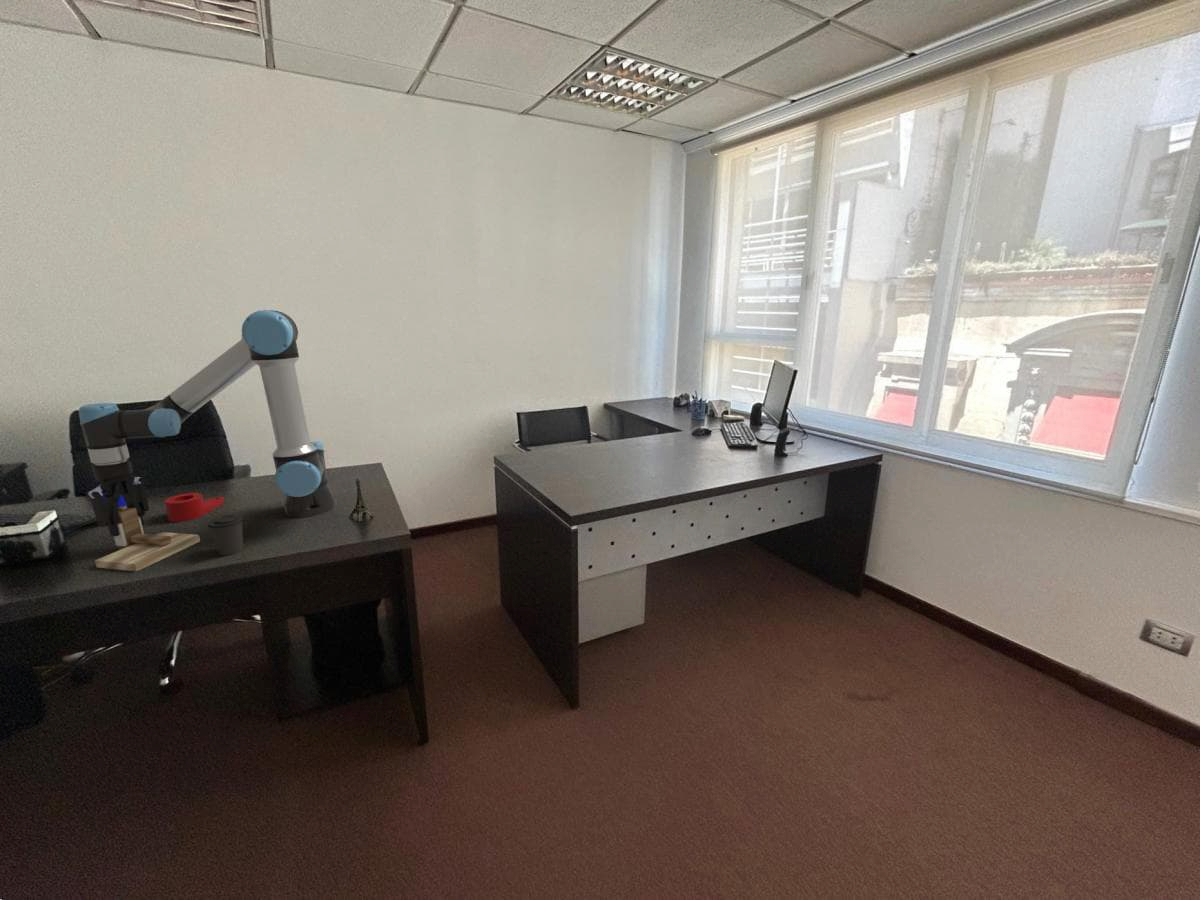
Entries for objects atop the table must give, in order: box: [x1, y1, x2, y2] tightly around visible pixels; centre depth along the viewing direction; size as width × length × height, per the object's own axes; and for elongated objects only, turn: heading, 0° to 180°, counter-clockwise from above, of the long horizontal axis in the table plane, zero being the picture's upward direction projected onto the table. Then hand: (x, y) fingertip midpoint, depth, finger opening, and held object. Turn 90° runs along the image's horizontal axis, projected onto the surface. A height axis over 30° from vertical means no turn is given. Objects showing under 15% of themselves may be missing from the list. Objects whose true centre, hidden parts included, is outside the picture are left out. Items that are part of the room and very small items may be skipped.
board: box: [94, 531, 201, 572], centre depth 137 cm, size 12×18×2 cm, turn 172°
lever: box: [164, 492, 225, 523], centre depth 166 cm, size 18×9×7 cm, turn 172°
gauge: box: [118, 506, 171, 551], centre depth 138 cm, size 14×4×12 cm, turn 82°
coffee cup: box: [207, 514, 245, 557], centre depth 138 cm, size 8×8×10 cm
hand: (130, 541), depth 140 cm, fingers closed on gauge, 4 cm apart
